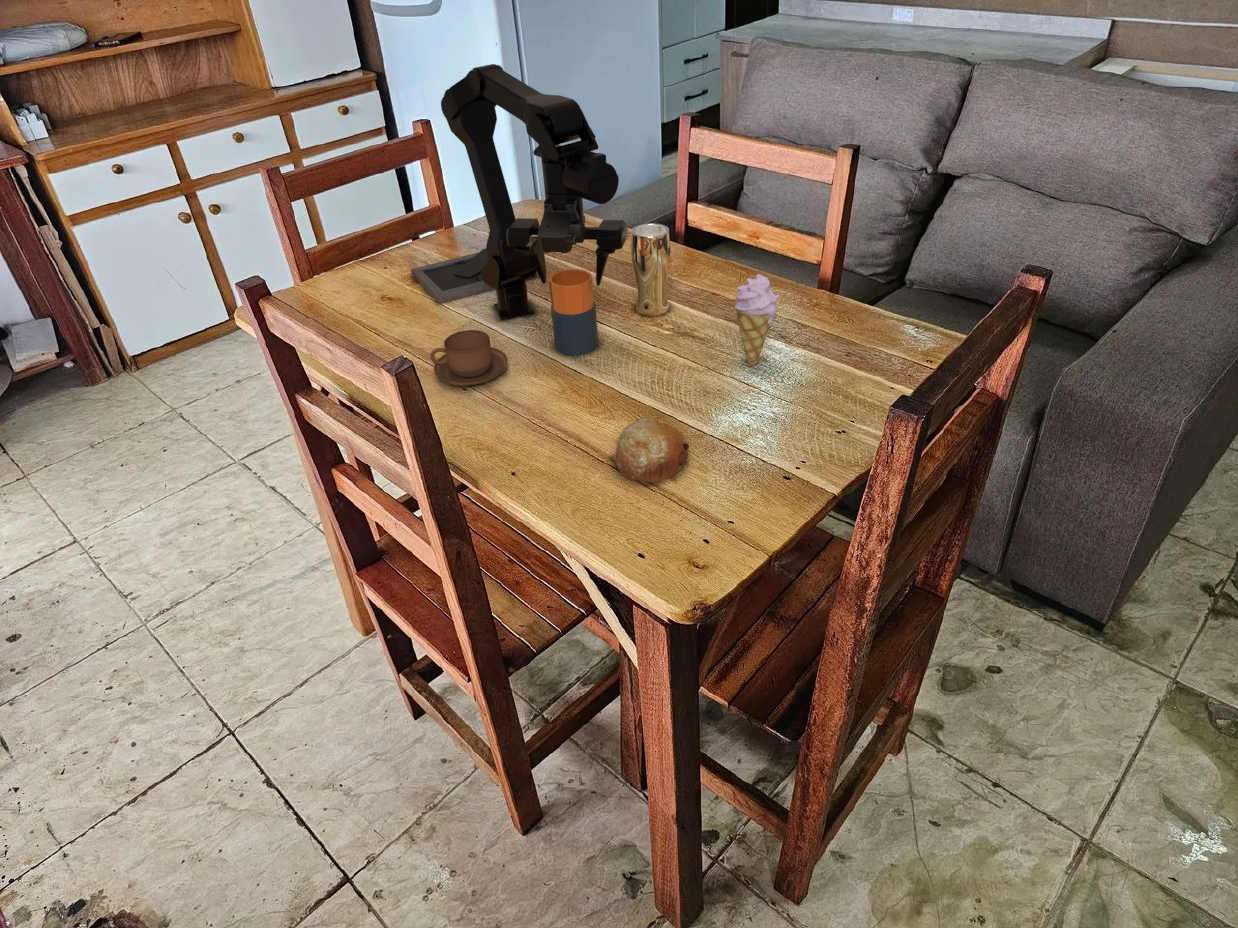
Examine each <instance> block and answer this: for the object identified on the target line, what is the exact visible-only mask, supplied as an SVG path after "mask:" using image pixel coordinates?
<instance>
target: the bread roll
mask: <svg viewBox="0 0 1238 928" xmlns="http://www.w3.org/2000/svg"><path fill="white" fill-rule="evenodd" d="M689 448H690V445H689V443H688V441H687V438H686V437H685V435H684V434H683V431H682V430H679V429H677V428H675V427H673V426H671V425H669V424H667V423H664V422H663V423H662V422H658V421H655V420H651V419H648V418H644V417H643V418H638V419H636V420H633V421H632V422H631V423H630V424H628V425H627V426H626V427H625V428H624V429H623V430H622V431H621V433H620V434H619V435H618V436H617V441H616V449H615V454H614V457H613V460H614V462H615V465H616V468H617V469H618V471H619V472H620V474H621V475H623V476H624V477H625V478H627V479H628V480H631V481H635V482H641V483H656V482H659V481H663V480H666V479H667V480H668V479H669V478H672V477H674V476H675V475H677V474H678V473H679V472H680V471H682V469H683V468H684V467H685V465H686V463H687V459H688V450H689Z"/></svg>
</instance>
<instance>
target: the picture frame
mask: <svg viewBox="0 0 1238 928" xmlns="http://www.w3.org/2000/svg"><path fill="white" fill-rule="evenodd" d="M487 261H488V255H487V251H486V248H482V249H481V250H480V251H477V252H474V253H469V254H466V255H462V256H458V257H453V258H450V259H446V260H442V261H439V262H438V261H437V262H434V263H430V264H426V265H421V266H418V267H414V268H411V269H410V271H411V276H412V277H413V278H414V279H415V280H416V281H417V283H418V284H419V285H420V286H421V287H422V288H423V289H424V290H425V291H426V292H427V293H428V294H429V295H430V296H431V297H432V298H433V299H434V300H435V301H436V303H437V304H444V303H447V302H451V301H455V300H459V299H462V298H465V297H469V296H470V297H471V296H473V295H477V294H481V293H484V292H489V291H491V290H496V289H495V288H493V287H491V286H489V285H487V284H485V283H484V281H483V278H482V275H481V271H482V269H483V267H484V266H485V264H486V262H487ZM536 278H538V273H537V271H536V276H535V277H530V278H528V279H526V281H528V280H533V279H536Z"/></svg>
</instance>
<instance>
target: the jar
mask: <svg viewBox="0 0 1238 928" xmlns="http://www.w3.org/2000/svg"><path fill="white" fill-rule="evenodd" d="M596 306H597V305H596V303H595V301H594V306H593V307H592V309H590V310H589V311H587V312H584V313H581V314H574V315H566V314H560V313H557V312H556V311H554V310H553V308H552V305H551V306H550V310H551V319H552V329H553V338H554V347H555V350H556V351H557V352H558V353H559V354H561V355H565V356H573V357H574V356H576V357H577V356H583V355H587V354H590V353H592V352H593V351H595V350H596V349H597V348H598V346H599V334H598V321H597V319H598V318H597V307H596Z"/></svg>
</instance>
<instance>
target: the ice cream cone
mask: <svg viewBox="0 0 1238 928" xmlns="http://www.w3.org/2000/svg"><path fill="white" fill-rule="evenodd" d="M746 282H747V284H743V285H739V286H737V288H736V290H737V295H736V296H735V300H736V301H735V305H734V306H735V309H736V311H735V312H736V317H737V324H738V329H739V333H740V337H741V343H742V346H743V349H744V350H743V351H744V354H745V358H746V361H747V364H748V365H749V366H756V365H757V363H758V360H759V357H760V355H761V352H762V349H763V347H764V344H765V342H766V339H767V337H768V333H769V329H770V327H771V325H772V324H773V322H774V318H775V316H776V314H777V304H776V302H777V301H778V299H780V298H781V297H782V295H781V294H775V293H774V291H773V290H772V288H771V280H769V278H768V277H767V276H764V275H762V274H761V273H757V274H756V276H755V278H751V277H748V278H746Z"/></svg>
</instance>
